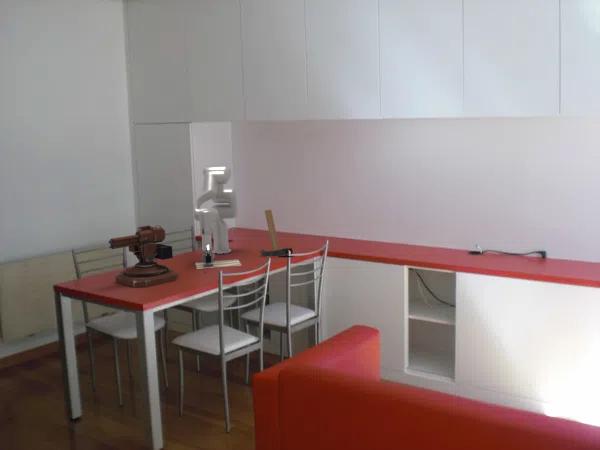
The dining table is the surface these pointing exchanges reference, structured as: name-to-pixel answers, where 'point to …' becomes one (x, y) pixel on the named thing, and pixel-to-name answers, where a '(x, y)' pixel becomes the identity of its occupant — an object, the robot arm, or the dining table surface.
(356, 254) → the dining table surface
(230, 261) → the board
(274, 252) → the hammer
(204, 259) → the cap
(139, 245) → the model turret
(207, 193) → the robot arm
